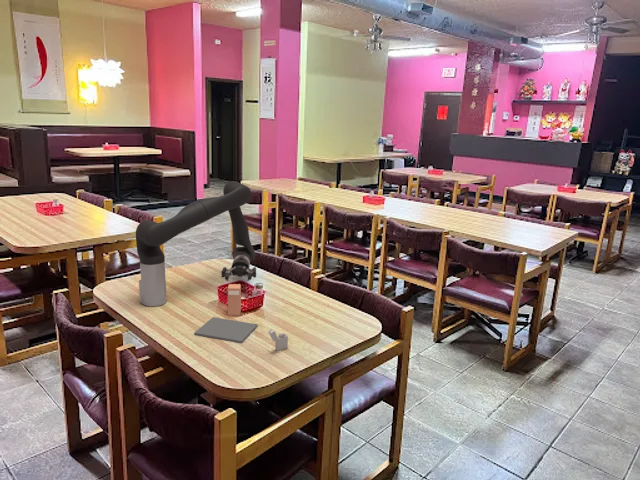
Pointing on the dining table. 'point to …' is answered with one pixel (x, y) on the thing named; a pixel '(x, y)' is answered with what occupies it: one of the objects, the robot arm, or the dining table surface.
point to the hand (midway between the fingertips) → (237, 278)
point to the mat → (226, 330)
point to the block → (234, 299)
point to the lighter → (279, 340)
